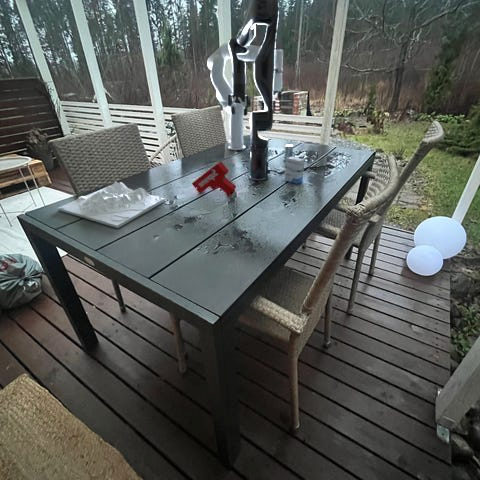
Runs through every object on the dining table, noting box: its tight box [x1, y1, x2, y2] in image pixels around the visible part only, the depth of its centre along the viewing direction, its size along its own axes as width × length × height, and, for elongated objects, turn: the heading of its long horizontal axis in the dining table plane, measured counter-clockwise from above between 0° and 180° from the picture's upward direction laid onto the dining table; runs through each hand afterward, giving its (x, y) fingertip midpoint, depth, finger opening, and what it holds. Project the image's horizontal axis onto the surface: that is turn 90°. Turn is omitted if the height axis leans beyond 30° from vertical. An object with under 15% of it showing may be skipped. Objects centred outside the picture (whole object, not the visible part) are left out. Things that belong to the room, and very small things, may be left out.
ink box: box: [284, 156, 306, 185], centre depth 140 cm, size 8×5×12 cm, turn 47°
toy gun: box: [191, 161, 237, 197], centre depth 128 cm, size 18×4×15 cm
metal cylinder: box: [284, 144, 294, 163], centre depth 171 cm, size 5×5×10 cm
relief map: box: [57, 180, 166, 229], centre depth 118 cm, size 27×35×5 cm
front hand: (239, 114), depth 157 cm, fingers open, 8 cm apart
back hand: (274, 99), depth 195 cm, fingers open, 9 cm apart
